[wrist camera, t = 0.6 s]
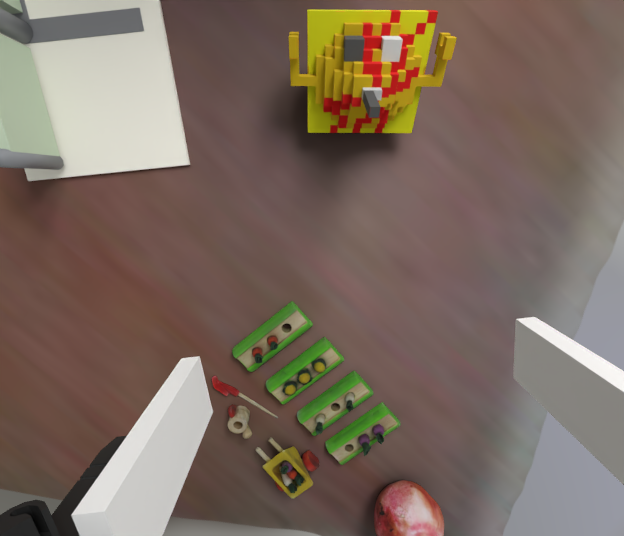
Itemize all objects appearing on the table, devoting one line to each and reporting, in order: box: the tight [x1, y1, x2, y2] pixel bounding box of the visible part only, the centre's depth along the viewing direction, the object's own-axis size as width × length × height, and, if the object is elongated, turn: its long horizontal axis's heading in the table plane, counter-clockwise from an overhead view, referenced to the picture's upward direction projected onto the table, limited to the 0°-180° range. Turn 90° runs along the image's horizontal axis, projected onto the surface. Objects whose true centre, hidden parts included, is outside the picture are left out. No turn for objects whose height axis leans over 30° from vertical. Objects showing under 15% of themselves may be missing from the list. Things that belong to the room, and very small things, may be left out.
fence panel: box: [0, 34, 64, 170], centre depth 31 cm, size 12×2×7 cm, turn 6°
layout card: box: [0, 0, 190, 181], centre depth 33 cm, size 24×18×1 cm
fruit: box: [374, 480, 444, 536], centre depth 44 cm, size 9×10×10 cm
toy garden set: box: [212, 301, 401, 499], centre depth 43 cm, size 23×19×5 cm
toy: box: [289, 10, 457, 133], centre depth 29 cm, size 14×10×15 cm
